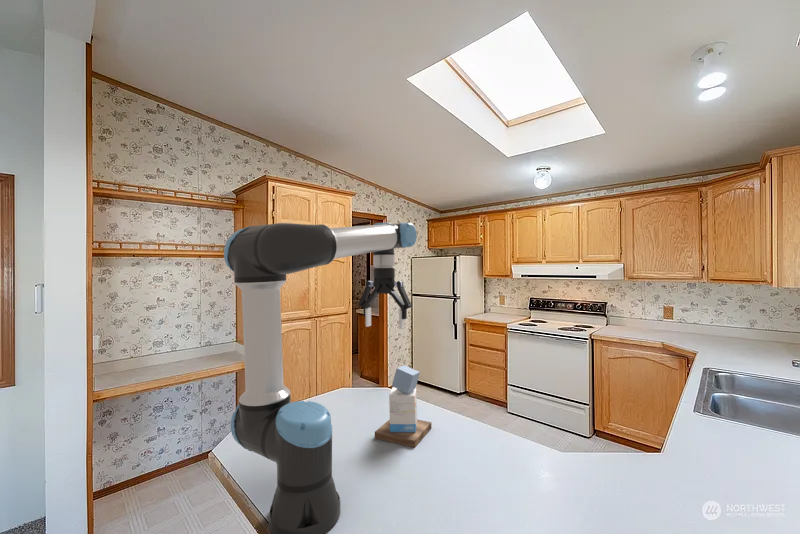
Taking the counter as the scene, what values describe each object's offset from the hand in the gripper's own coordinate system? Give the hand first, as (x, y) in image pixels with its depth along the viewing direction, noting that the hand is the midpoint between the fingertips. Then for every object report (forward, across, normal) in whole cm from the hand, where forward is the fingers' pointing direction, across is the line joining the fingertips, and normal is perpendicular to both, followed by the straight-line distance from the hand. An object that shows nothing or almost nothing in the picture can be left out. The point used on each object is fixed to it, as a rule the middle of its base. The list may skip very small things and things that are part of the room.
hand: (384, 327), depth 124 cm
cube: (+18, -10, +5) cm, 21 cm away
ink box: (+31, -9, +5) cm, 33 cm away
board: (+33, -10, +5) cm, 35 cm away
